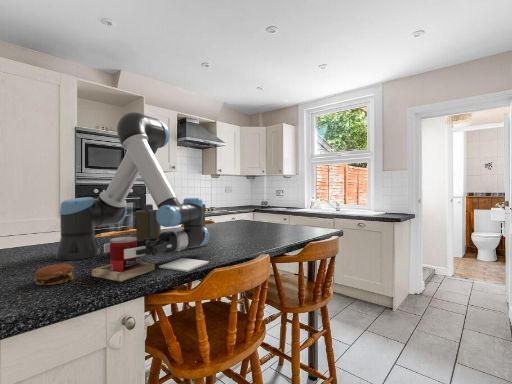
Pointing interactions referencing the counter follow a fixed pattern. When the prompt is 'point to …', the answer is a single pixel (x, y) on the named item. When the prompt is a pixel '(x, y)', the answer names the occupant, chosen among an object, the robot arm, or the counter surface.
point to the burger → (54, 274)
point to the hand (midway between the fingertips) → (113, 251)
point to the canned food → (122, 254)
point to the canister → (147, 223)
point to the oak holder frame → (118, 276)
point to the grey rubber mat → (184, 264)
